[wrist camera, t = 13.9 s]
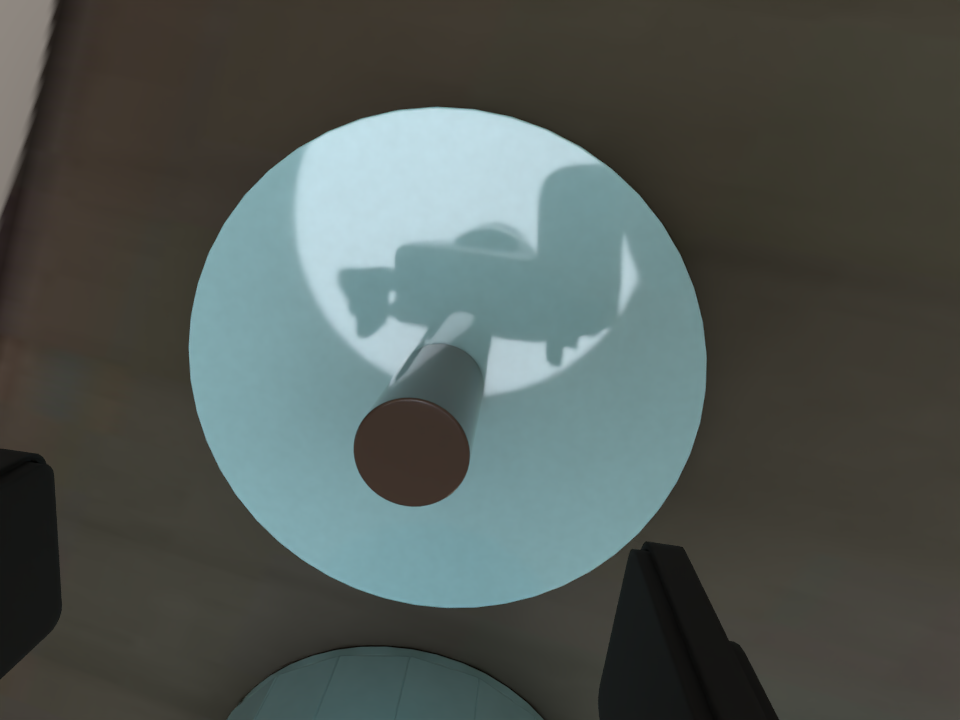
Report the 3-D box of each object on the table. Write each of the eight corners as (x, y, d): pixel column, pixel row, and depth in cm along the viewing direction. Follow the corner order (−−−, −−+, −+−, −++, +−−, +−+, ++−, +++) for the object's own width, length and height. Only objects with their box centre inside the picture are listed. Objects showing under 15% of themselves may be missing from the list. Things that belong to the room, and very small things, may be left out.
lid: (753, 150, 18) (877, 124, 12) (641, 621, 23) (688, 786, 16) (207, 78, 19) (46, 16, 12) (202, 552, 23) (81, 687, 17)
